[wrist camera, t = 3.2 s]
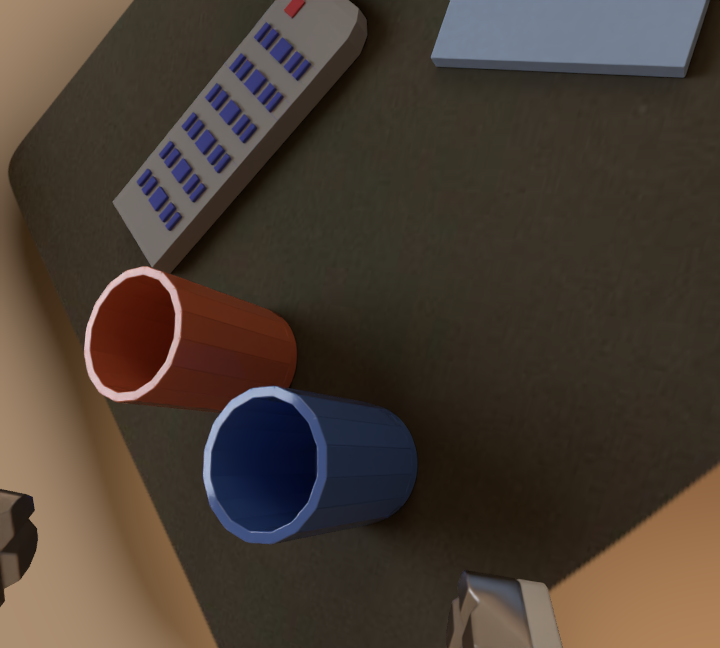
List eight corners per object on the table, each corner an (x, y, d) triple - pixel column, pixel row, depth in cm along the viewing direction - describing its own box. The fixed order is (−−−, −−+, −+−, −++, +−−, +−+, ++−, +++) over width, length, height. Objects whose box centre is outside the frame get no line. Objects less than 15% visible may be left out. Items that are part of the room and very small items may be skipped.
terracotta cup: (312, 324, 37) (200, 283, 29) (275, 430, 37) (151, 421, 29) (232, 297, 41) (112, 254, 32) (198, 394, 41) (68, 377, 32)
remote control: (132, 210, 48) (109, 200, 46) (318, -20, 43) (301, -42, 41) (171, 274, 45) (148, 266, 43) (380, 31, 39) (365, 10, 38)
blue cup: (433, 427, 32) (348, 415, 24) (394, 544, 32) (294, 572, 24) (336, 388, 36) (232, 367, 28) (300, 494, 35) (184, 504, 27)
